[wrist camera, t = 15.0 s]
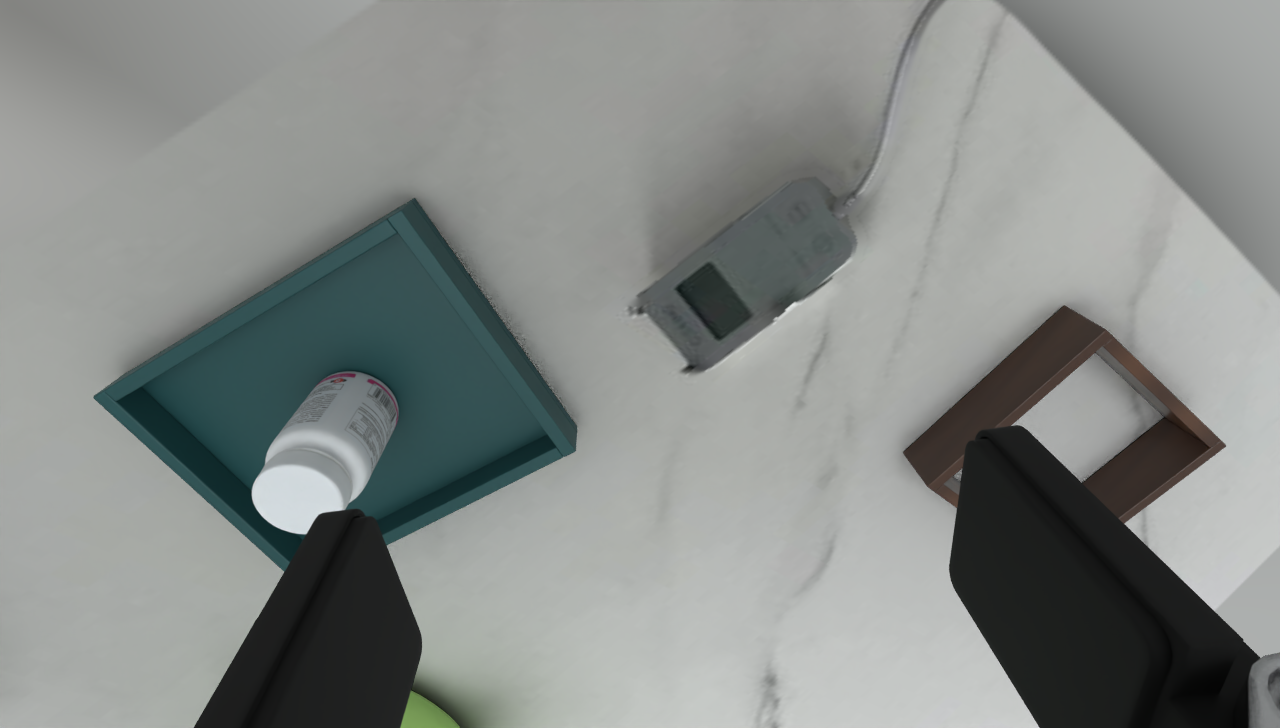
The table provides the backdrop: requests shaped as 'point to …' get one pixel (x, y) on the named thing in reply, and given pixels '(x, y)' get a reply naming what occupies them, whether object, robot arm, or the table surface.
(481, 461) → the tray
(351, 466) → the pill bottle
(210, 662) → the table surface
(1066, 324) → the square wooden frame
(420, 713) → the teapot
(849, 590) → the table surface
